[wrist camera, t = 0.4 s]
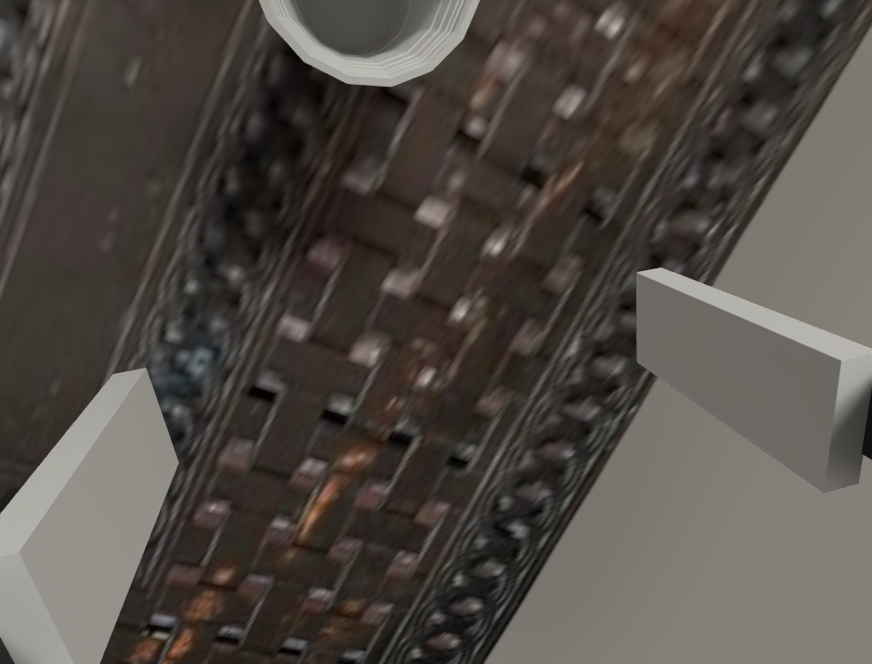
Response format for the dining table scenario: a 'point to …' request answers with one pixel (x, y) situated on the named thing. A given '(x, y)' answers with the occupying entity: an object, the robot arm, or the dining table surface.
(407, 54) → the plastic cup
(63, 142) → the dining table surface
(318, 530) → the dining table surface
